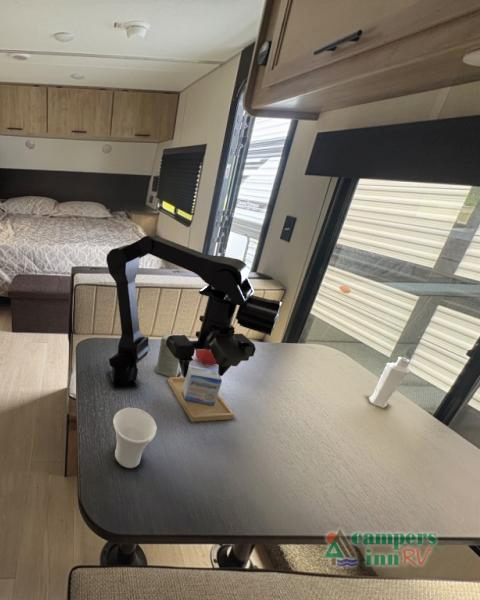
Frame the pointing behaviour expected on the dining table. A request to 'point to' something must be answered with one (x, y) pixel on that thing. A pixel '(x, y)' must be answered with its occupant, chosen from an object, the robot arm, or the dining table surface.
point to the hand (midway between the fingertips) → (202, 375)
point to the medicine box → (201, 385)
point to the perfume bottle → (390, 381)
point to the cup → (132, 435)
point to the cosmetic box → (167, 360)
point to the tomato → (205, 357)
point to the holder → (200, 404)
